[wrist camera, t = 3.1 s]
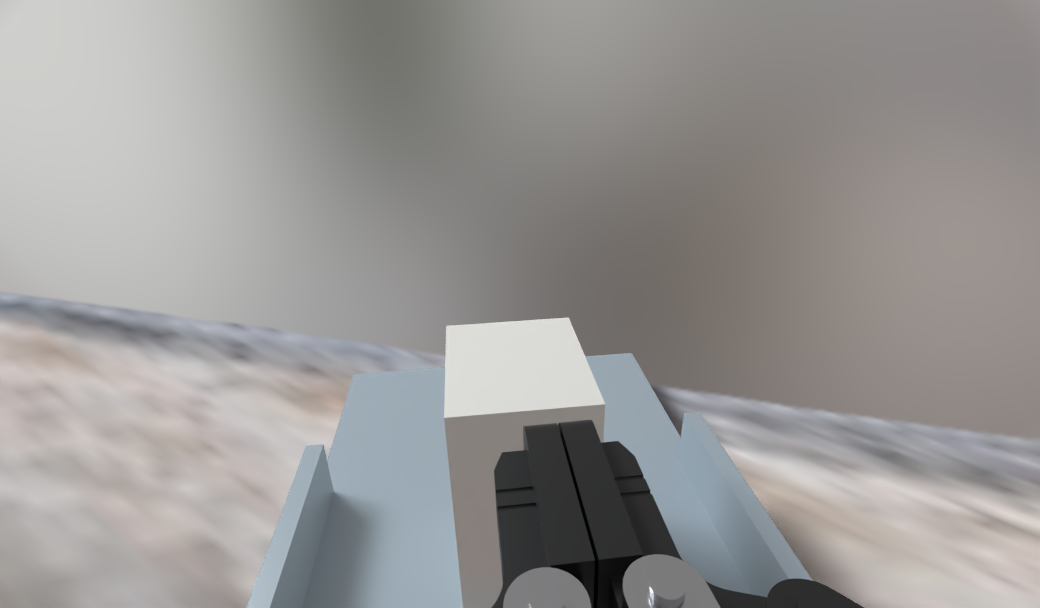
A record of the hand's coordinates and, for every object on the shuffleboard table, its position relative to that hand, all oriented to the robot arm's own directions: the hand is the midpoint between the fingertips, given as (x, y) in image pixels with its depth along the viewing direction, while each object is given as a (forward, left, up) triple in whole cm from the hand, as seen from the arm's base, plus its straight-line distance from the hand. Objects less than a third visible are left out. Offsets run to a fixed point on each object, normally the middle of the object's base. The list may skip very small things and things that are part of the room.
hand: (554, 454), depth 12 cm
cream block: (+4, +6, -12) cm, 14 cm away
